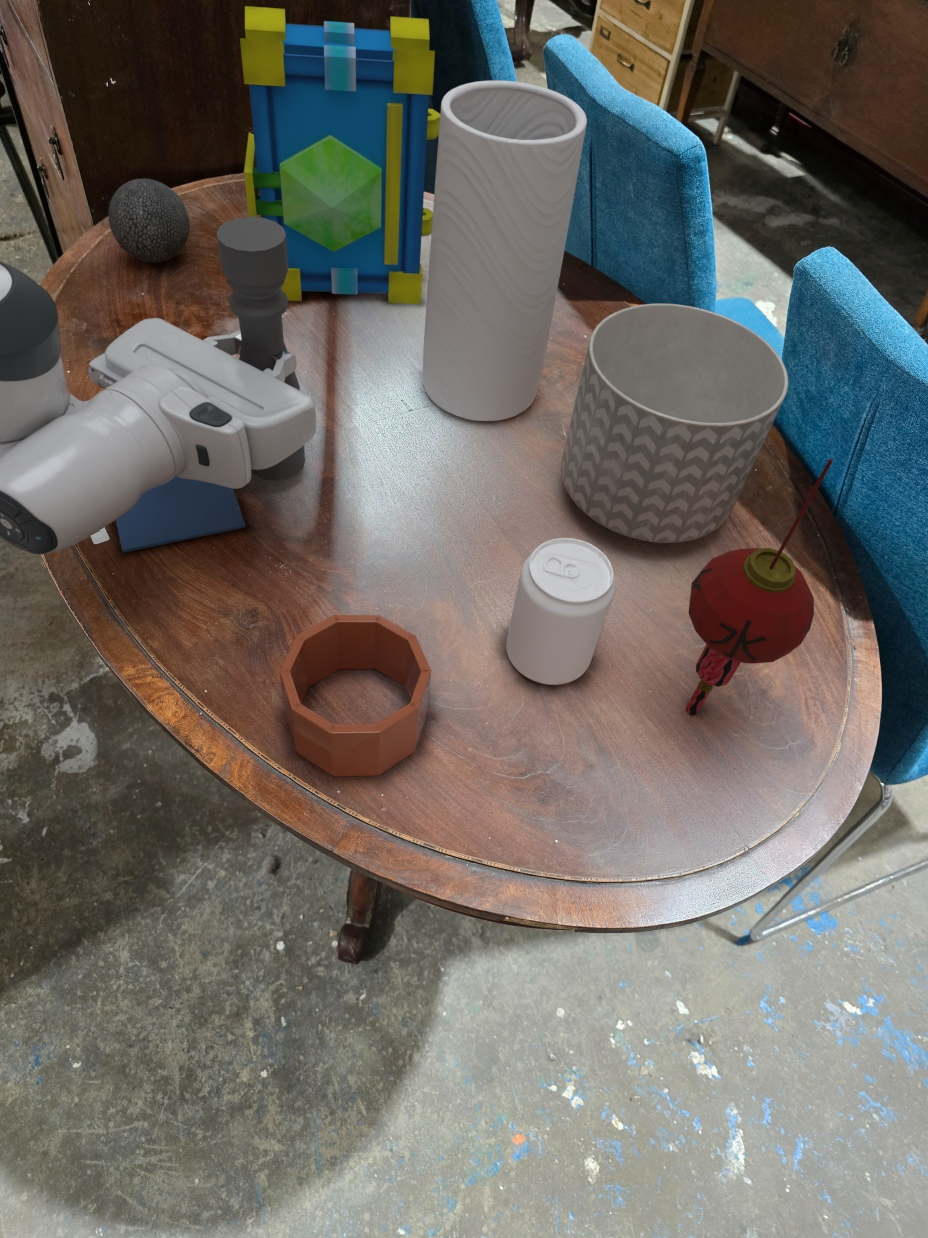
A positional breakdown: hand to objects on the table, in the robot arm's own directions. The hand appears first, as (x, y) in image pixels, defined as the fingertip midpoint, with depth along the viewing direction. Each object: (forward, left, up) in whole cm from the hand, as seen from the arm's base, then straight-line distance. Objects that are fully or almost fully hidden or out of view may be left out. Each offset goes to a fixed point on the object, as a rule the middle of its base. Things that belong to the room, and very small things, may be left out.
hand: (270, 347), depth 81 cm
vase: (+26, +7, -15) cm, 31 cm away
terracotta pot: (-2, -33, -15) cm, 36 cm away
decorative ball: (-6, +45, -15) cm, 48 cm away
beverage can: (+17, -32, -15) cm, 39 cm away
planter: (+36, -16, -15) cm, 42 cm away
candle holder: (-1, -1, -14) cm, 14 cm away
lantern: (+27, -42, -15) cm, 52 cm away
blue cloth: (-12, -1, -15) cm, 19 cm away
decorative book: (+17, +33, -15) cm, 41 cm away
